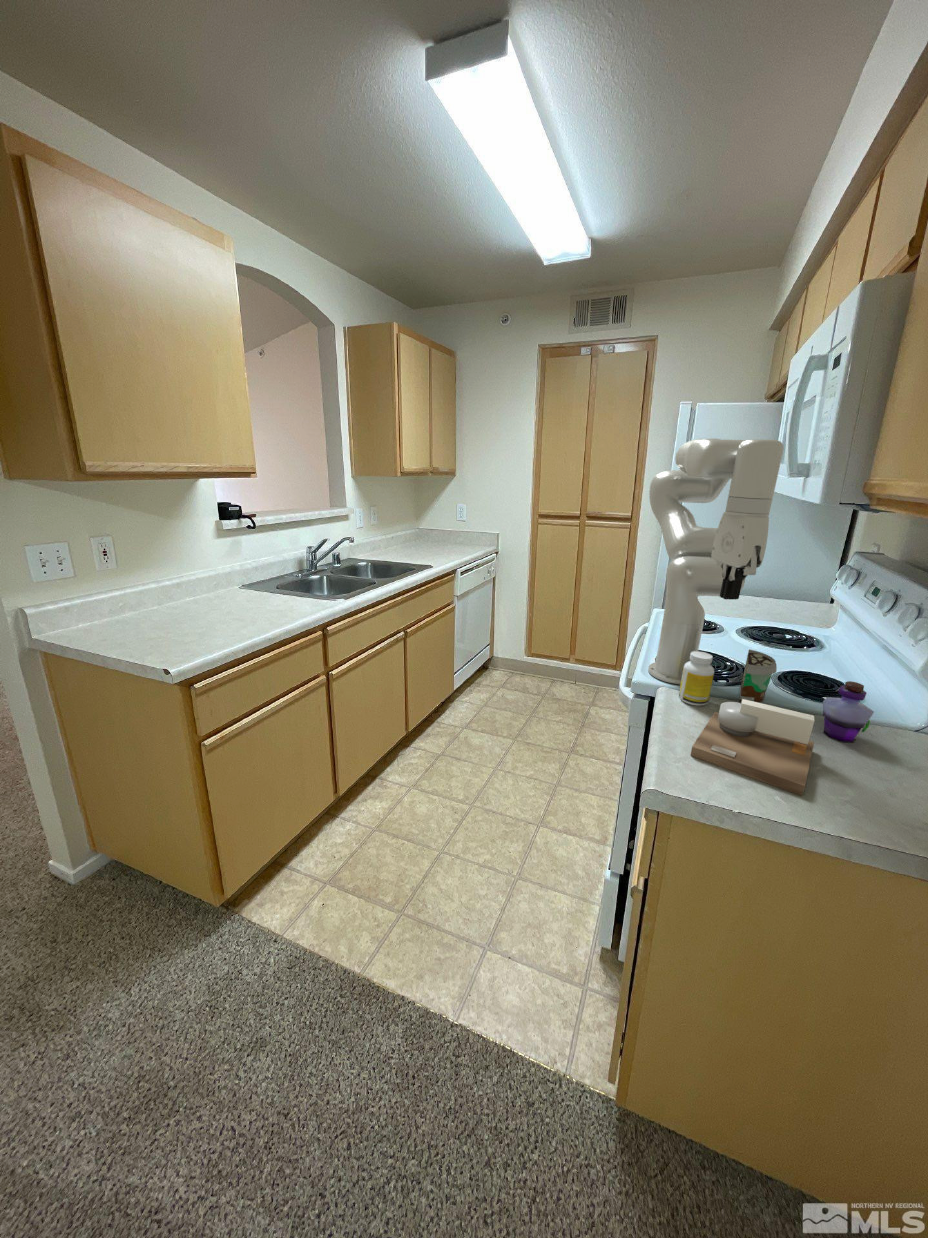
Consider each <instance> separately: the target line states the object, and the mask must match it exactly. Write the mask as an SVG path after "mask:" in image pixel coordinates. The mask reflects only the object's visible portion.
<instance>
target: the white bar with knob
mask: <svg viewBox="0 0 928 1238" xmlns="http://www.w3.org/2000/svg"><path fill="white" fill-rule="evenodd" d="M718 713H719V715H718V721H719V723H721V724H722V725H723V726H725V727H727V728H729V729H732V730H735V731H739V732H754V731H758V732H762V733H766V734H770V735H774V736H778V737H781V738H785V739H789V740H793V741H797V742H801V743H805V744H808V742H809V741H810V738H811V734H812V731H813V728H814V724H815V715H812V714H808V713H805V712H799V711H796V710H791V709H787V708H783V707H778V706H775V705H771V704H766V703H762V702H760V703H758V702H753V701H749V700H745V699H742V702H736V701H725V702H722V703H721V704H720V706H719V711H718Z"/></svg>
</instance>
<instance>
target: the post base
mask: <svg viewBox="0 0 928 1238" xmlns="http://www.w3.org/2000/svg"><path fill="white" fill-rule="evenodd" d="M718 715H719V712H717V711H714V712H713V714H712V716H710V718H709V720H708V722H707V723H706V725H705V727H703V729H702V730H701V733H700V734H699V735H698V737H697V738H696V740H695V742H694V743H693V744H692V747H691V752H690V756H691V757H693V758H696V759H699V760H702V761H704V762H708V763H710V764H713V765H716V766H718V767H721V768H724V769H727V770H730V771H732V772H735V773H737V774H740V775H743V776H746V777H748V778H751V779H755V780H756V781H760V782H762V783H765V784H768V785H770V786H773V787H776V788H778V789H782V790H785V791H788V792H789V793H793V794H795V795H799V796H801V797H803V794H804V790H805V788H806V784H807V777H808V774H809V769H810V764H811V759H812V753H813V749H814V744H815V741H812V740H809V742H808V744H805V743H801V742H797V741H793V740H789V739H785V738H781V737H778V736H774V735H770V734H766V733H762V732H758V731H754V732H739V731H735V730H732V729H729V728H727V727H725V726H723V725H722V724H721V723H719V721H718Z"/></svg>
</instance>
